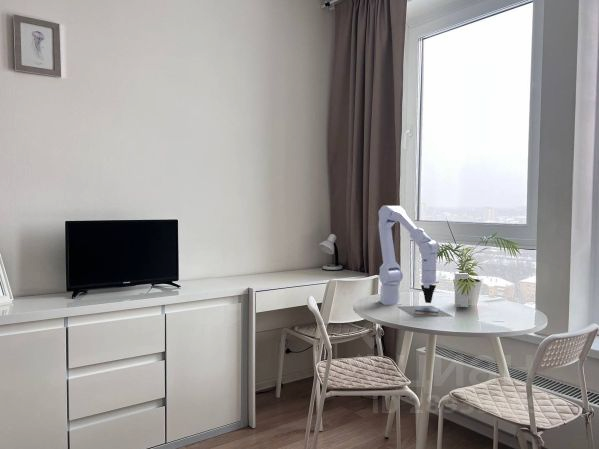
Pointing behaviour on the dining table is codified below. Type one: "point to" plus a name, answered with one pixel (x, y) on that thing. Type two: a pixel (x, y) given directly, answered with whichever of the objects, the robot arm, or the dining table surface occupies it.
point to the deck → (427, 311)
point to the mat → (411, 311)
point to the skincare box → (459, 299)
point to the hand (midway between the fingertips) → (428, 302)
